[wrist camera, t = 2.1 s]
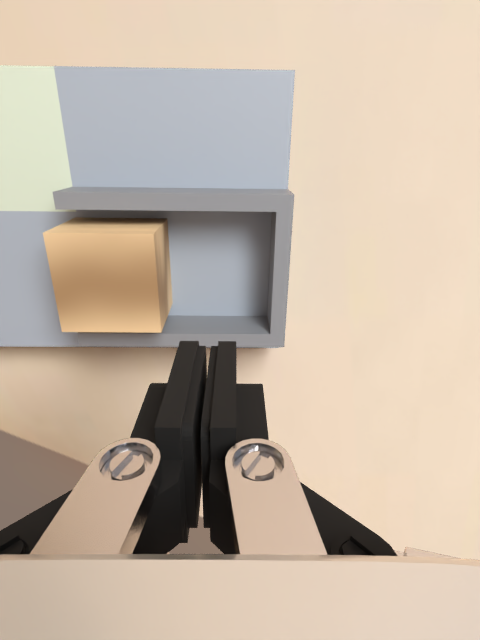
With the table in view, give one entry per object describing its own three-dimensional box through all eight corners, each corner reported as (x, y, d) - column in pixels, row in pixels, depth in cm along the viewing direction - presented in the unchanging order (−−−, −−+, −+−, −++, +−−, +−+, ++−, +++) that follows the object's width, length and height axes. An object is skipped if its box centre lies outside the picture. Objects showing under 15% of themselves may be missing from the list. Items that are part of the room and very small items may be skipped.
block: (75, 217, 21) (42, 232, 18) (167, 218, 21) (153, 233, 18) (88, 302, 23) (62, 332, 20) (172, 303, 24) (161, 332, 20)
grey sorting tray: (-197, 68, 20) (-308, 49, 16) (289, 76, 20) (303, 60, 16) (-97, 331, 26) (-159, 366, 22) (275, 333, 27) (282, 368, 23)
